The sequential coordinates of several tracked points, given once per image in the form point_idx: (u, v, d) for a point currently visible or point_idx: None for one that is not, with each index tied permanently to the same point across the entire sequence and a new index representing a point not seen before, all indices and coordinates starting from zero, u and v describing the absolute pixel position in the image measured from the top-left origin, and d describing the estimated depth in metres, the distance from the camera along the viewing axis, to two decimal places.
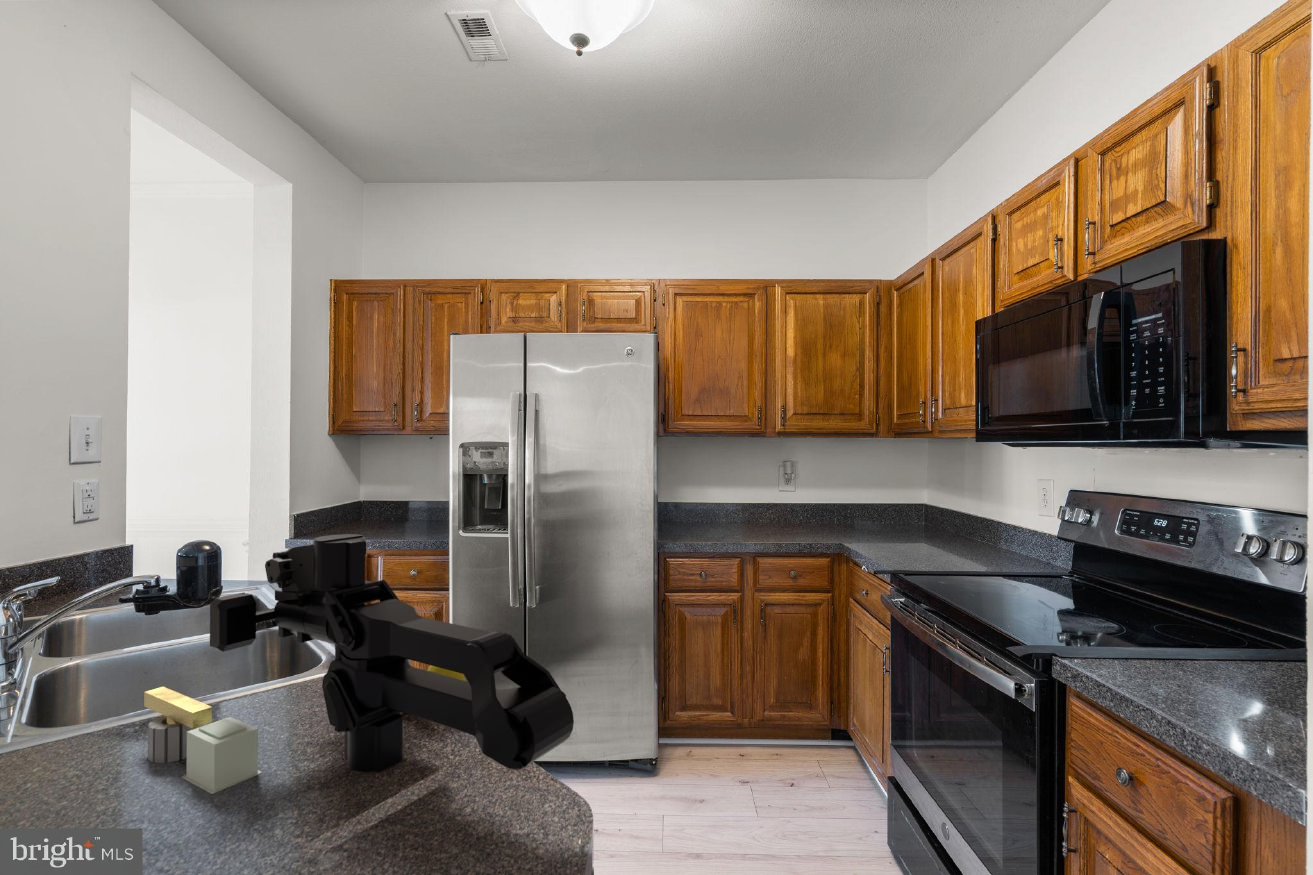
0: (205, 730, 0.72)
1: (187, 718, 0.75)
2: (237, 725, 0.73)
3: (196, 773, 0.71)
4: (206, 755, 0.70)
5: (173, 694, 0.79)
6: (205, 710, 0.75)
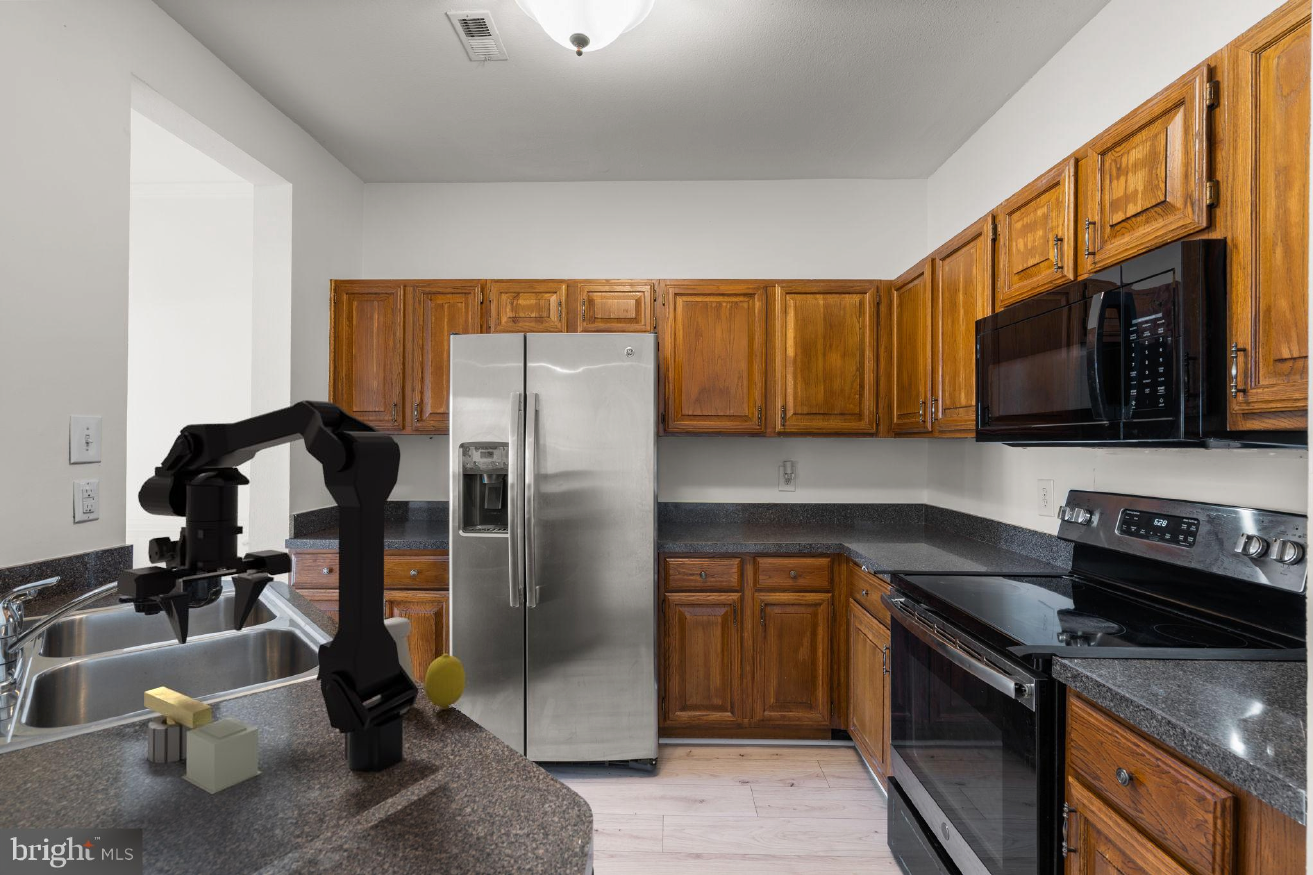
0: (205, 730, 0.72)
1: (187, 718, 0.75)
2: (237, 725, 0.73)
3: (196, 773, 0.71)
4: (206, 755, 0.70)
5: (173, 694, 0.79)
6: (205, 710, 0.75)
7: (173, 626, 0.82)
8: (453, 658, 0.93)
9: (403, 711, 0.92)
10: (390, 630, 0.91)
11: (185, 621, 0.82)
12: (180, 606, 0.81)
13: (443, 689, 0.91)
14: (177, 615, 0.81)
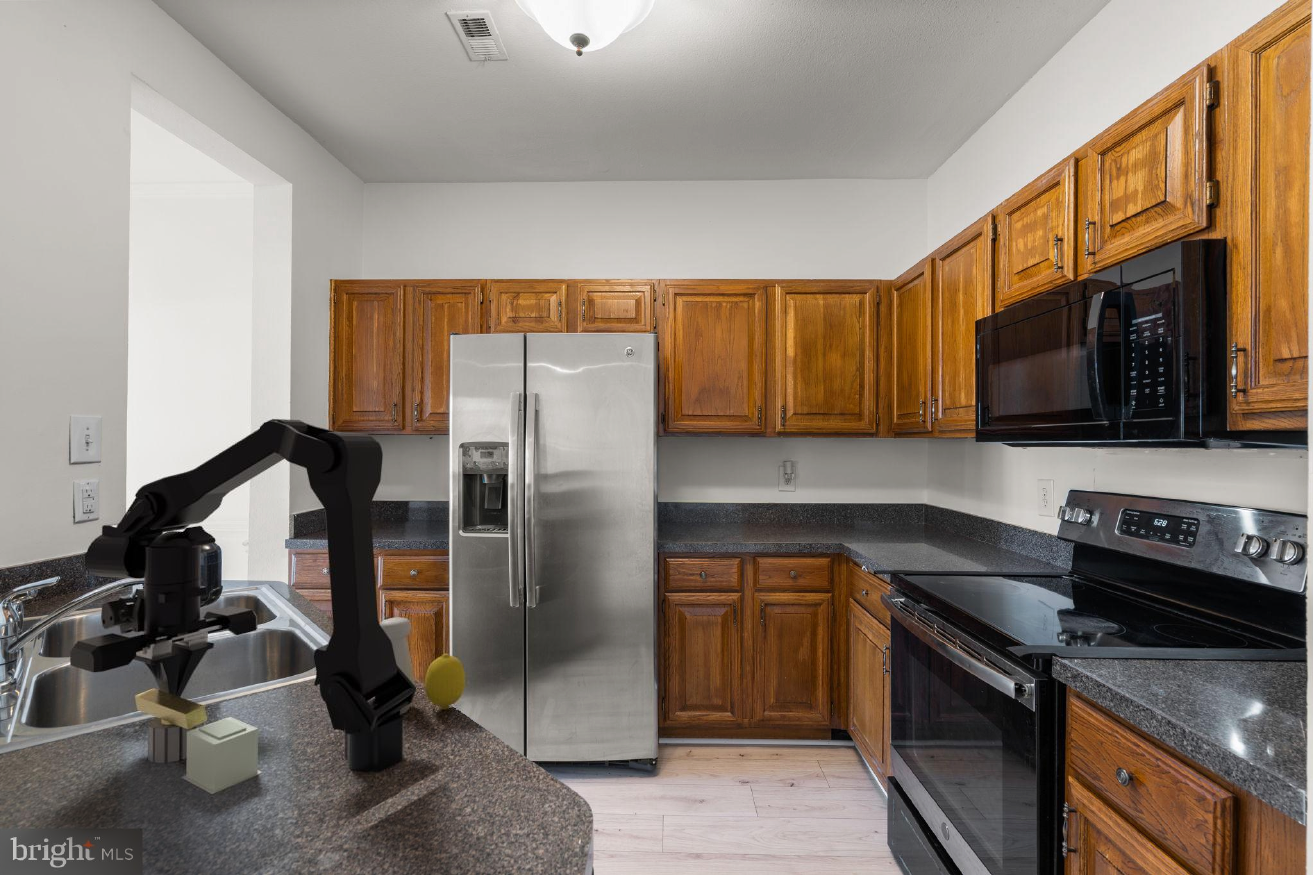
0: (205, 730, 0.72)
1: (181, 719, 0.74)
2: (237, 725, 0.73)
3: (196, 773, 0.71)
4: (206, 755, 0.70)
5: (164, 695, 0.79)
6: (198, 710, 0.75)
7: (161, 687, 0.81)
8: (453, 658, 0.93)
9: (403, 711, 0.92)
10: (390, 630, 0.91)
11: (174, 682, 0.81)
12: (170, 667, 0.80)
13: (443, 689, 0.91)
14: (166, 677, 0.80)
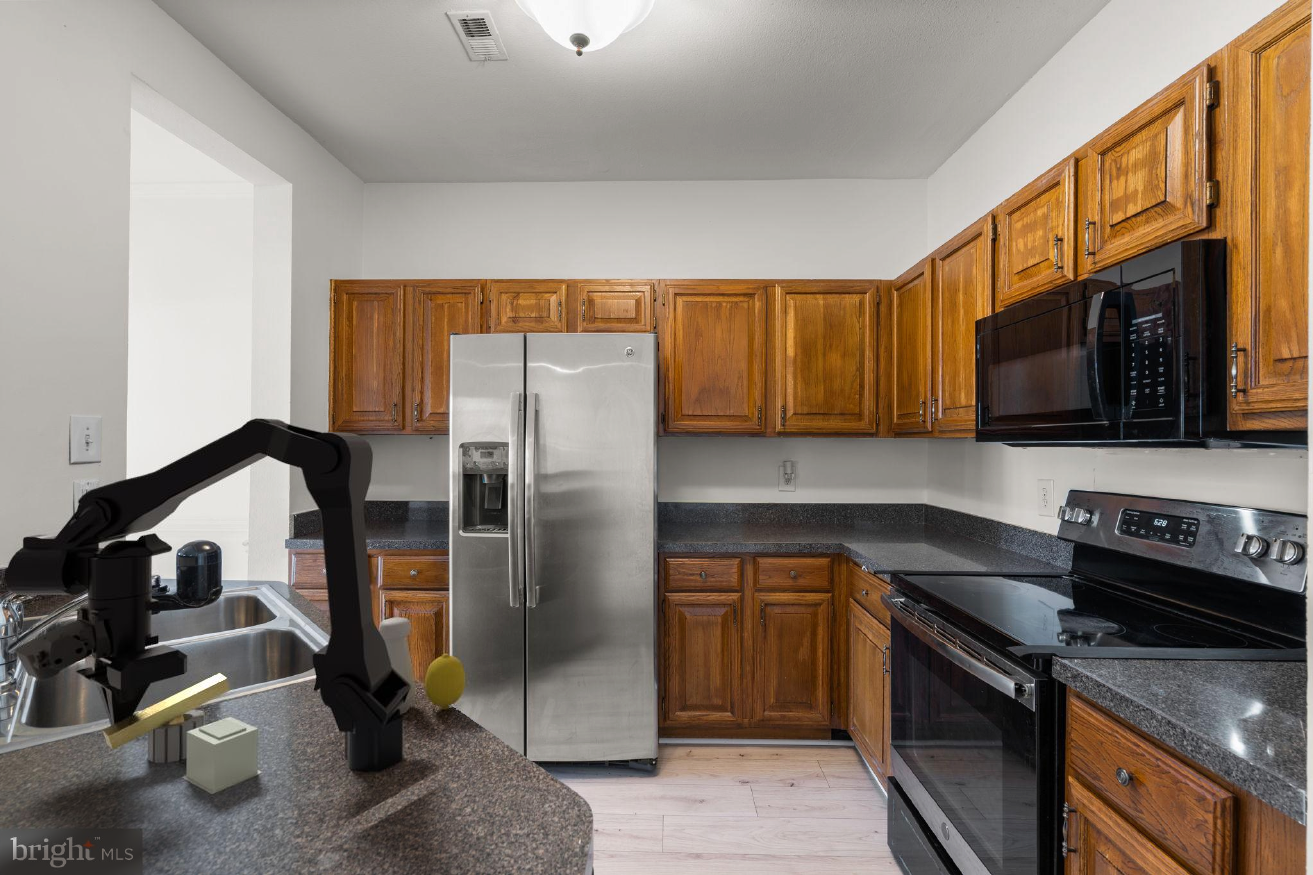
0: (205, 730, 0.72)
1: (217, 689, 0.80)
2: (237, 725, 0.73)
3: (196, 773, 0.71)
4: (206, 755, 0.70)
5: (146, 710, 0.76)
6: None
7: (119, 711, 0.74)
8: (453, 658, 0.93)
9: (403, 711, 0.92)
10: (390, 630, 0.91)
11: None
12: None
13: (443, 689, 0.91)
14: (146, 689, 0.76)
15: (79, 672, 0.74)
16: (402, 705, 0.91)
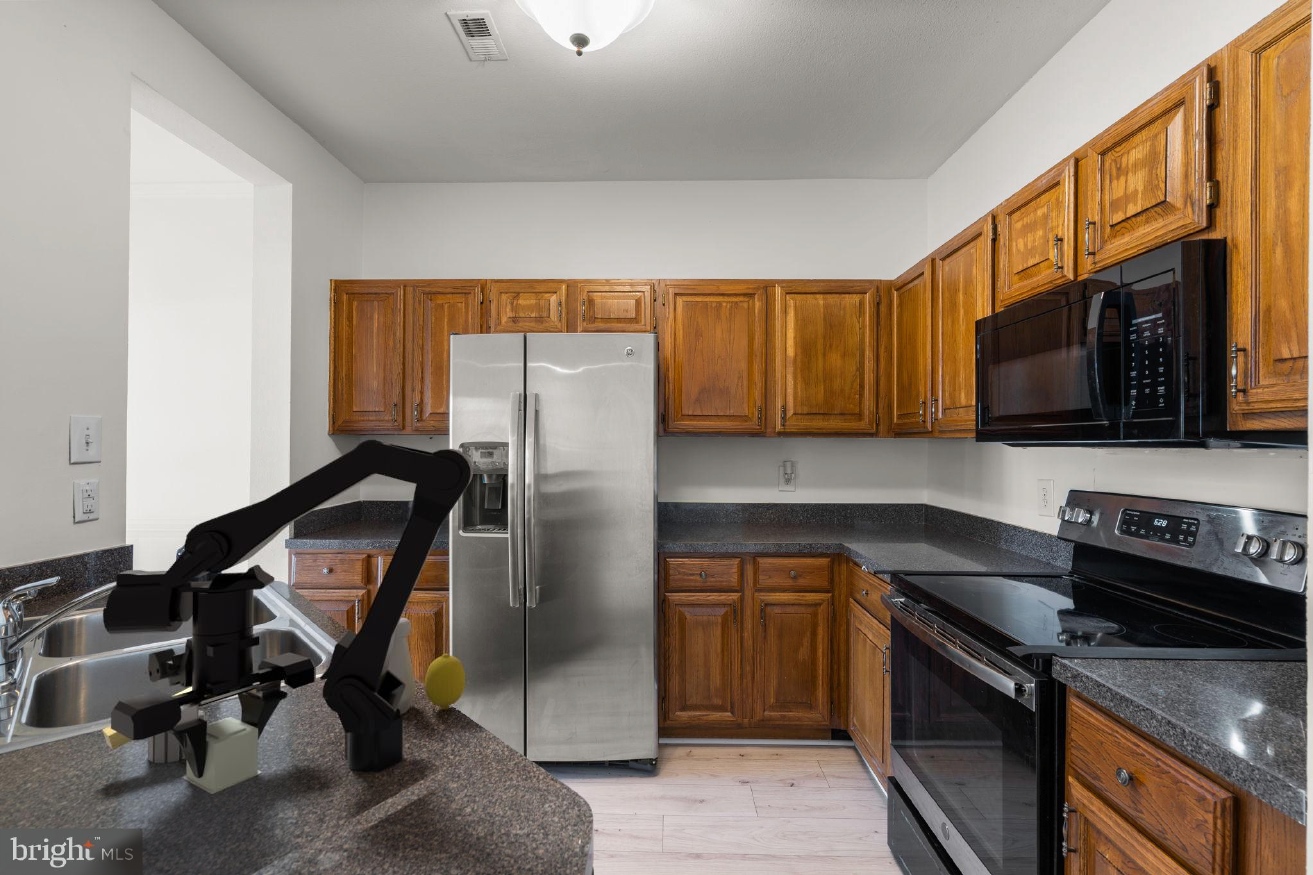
0: None
1: None
2: (237, 725, 0.73)
3: None
4: (207, 755, 0.70)
5: None
6: None
7: (187, 758, 0.70)
8: (453, 658, 0.93)
9: (403, 711, 0.92)
10: None
11: (202, 753, 0.69)
12: (196, 737, 0.68)
13: (443, 689, 0.91)
14: (192, 748, 0.68)
15: None
16: (402, 705, 0.91)
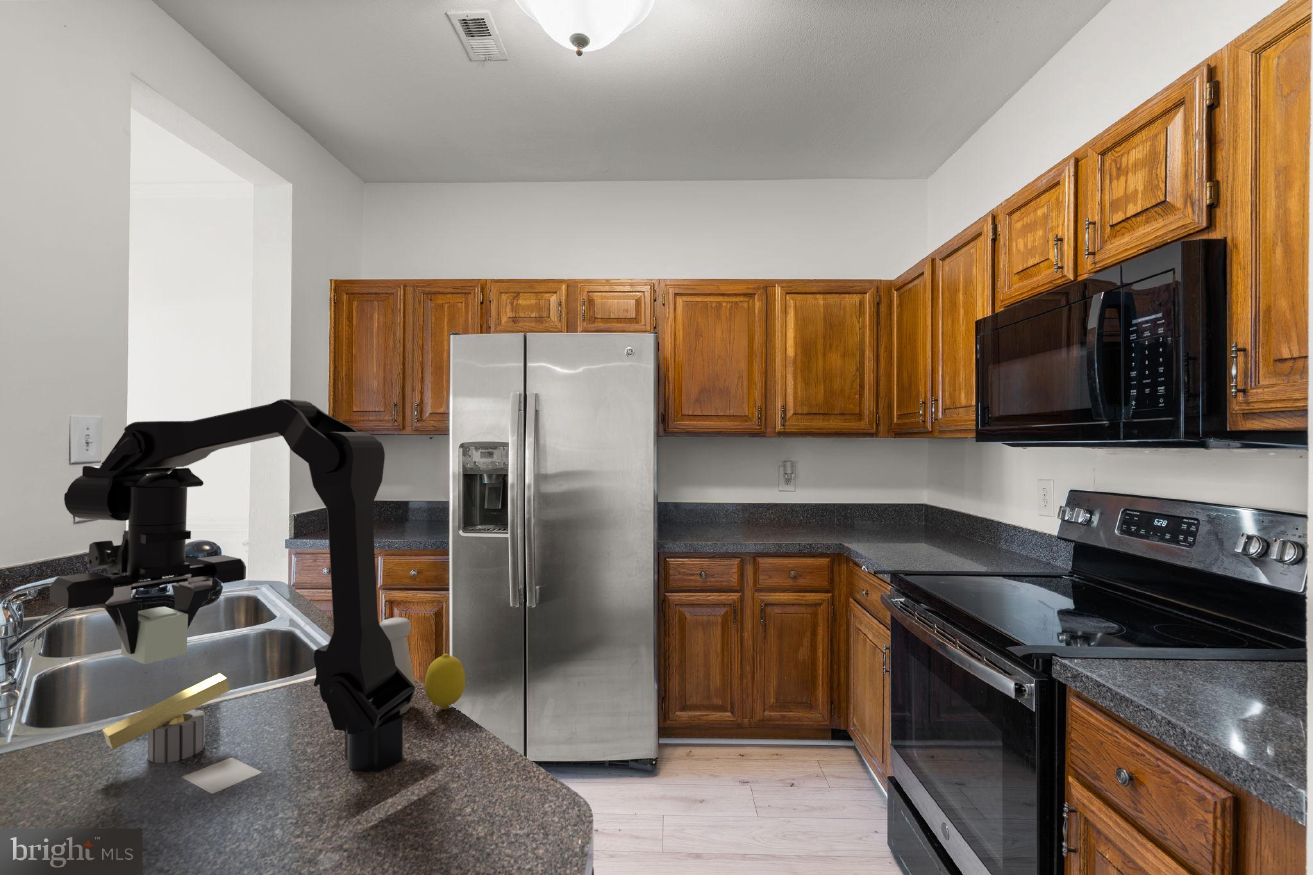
0: (139, 613, 0.80)
1: (217, 689, 0.80)
2: (169, 611, 0.81)
3: None
4: (138, 633, 0.78)
5: (146, 710, 0.76)
6: None
7: (121, 635, 0.78)
8: (453, 658, 0.93)
9: (403, 711, 0.92)
10: (390, 630, 0.91)
11: (134, 630, 0.77)
12: (128, 614, 0.76)
13: (443, 689, 0.91)
14: (125, 624, 0.76)
15: None
16: None
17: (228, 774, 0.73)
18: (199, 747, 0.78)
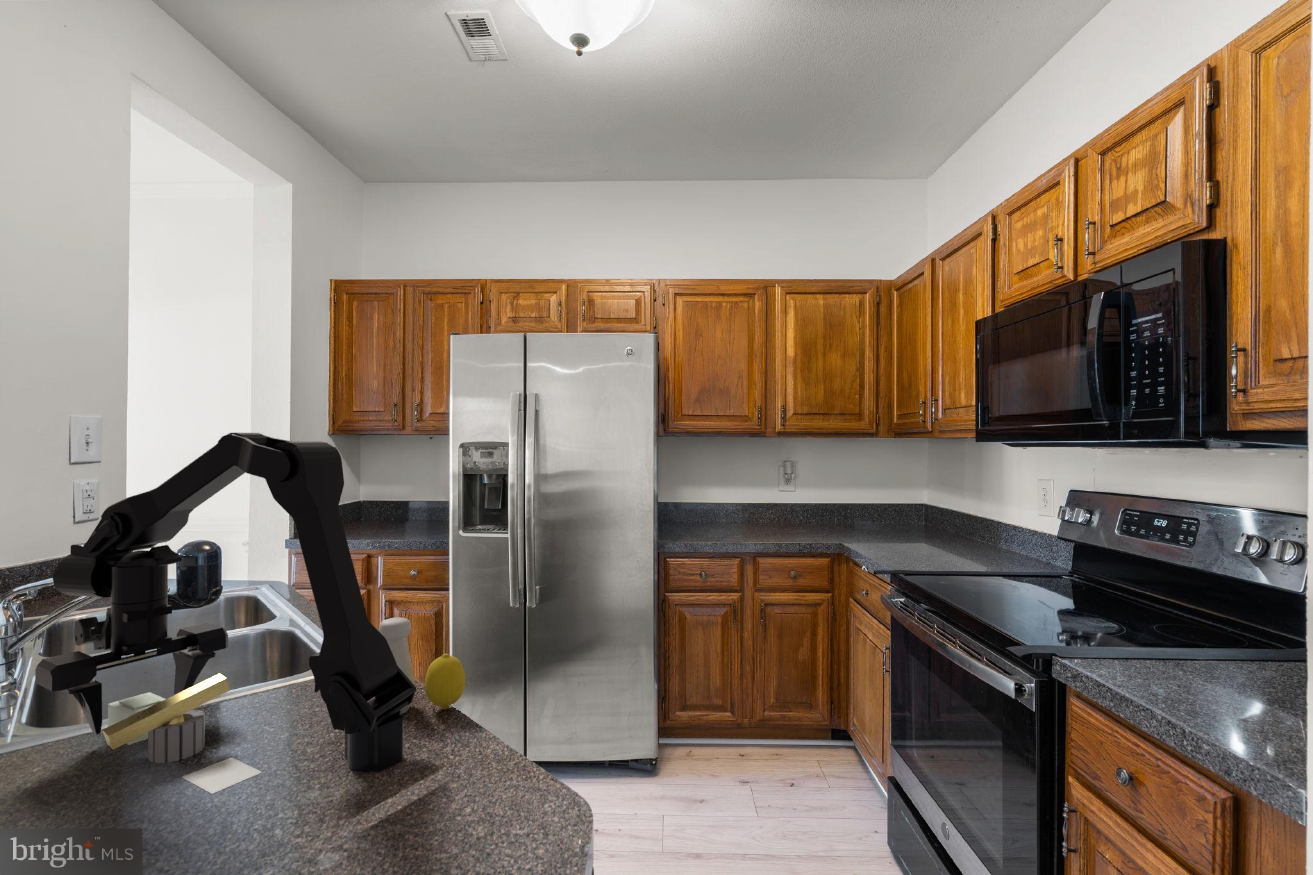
0: (124, 702, 0.82)
1: (217, 689, 0.80)
2: (153, 698, 0.84)
3: None
4: None
5: (146, 710, 0.76)
6: None
7: (86, 716, 0.79)
8: (453, 658, 0.93)
9: (403, 711, 0.92)
10: (390, 630, 0.91)
11: (98, 712, 0.78)
12: (91, 697, 0.77)
13: (443, 689, 0.91)
14: (88, 706, 0.77)
15: None
16: None
17: (228, 774, 0.73)
18: (199, 747, 0.78)
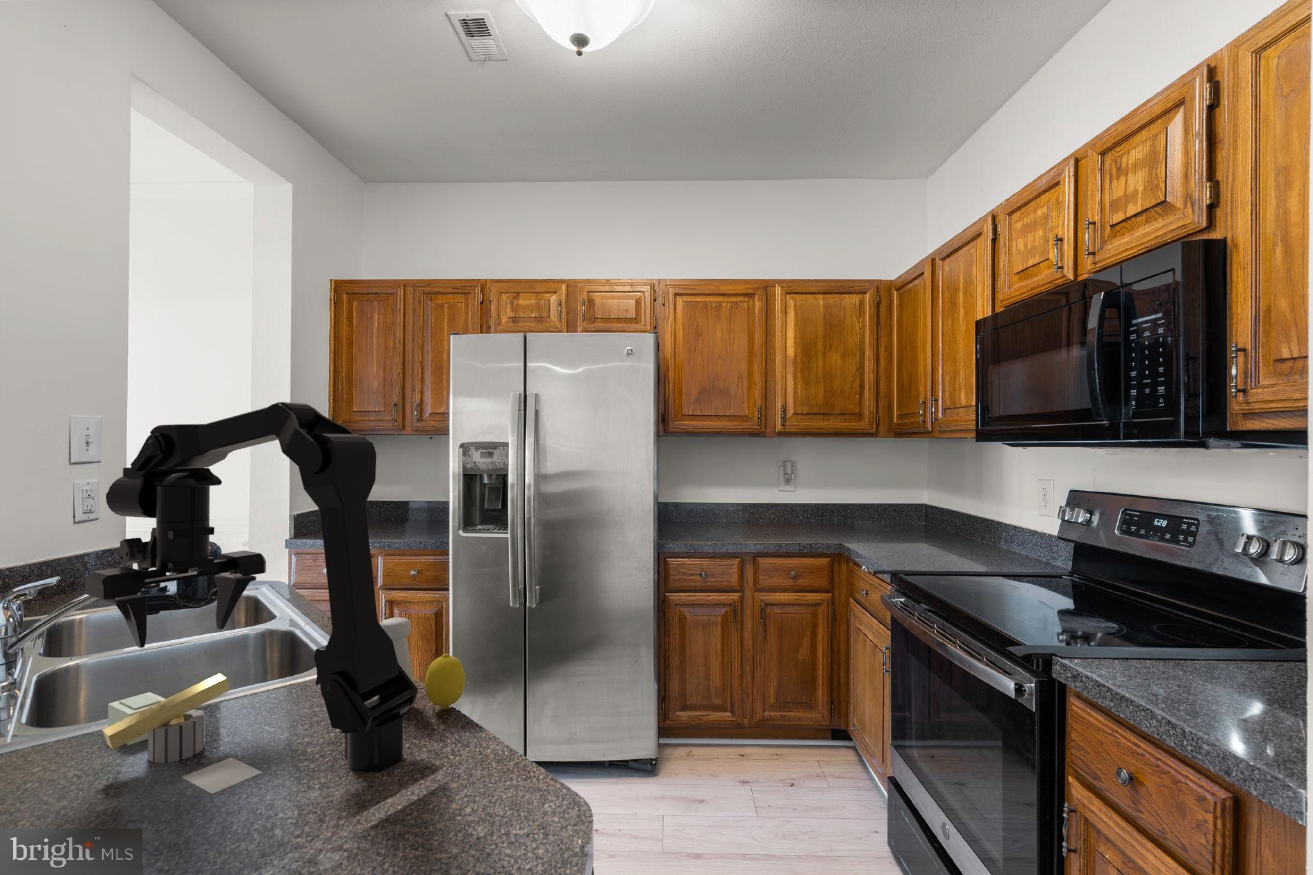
0: (124, 702, 0.82)
1: (217, 689, 0.80)
2: (153, 698, 0.84)
3: None
4: None
5: (146, 710, 0.76)
6: None
7: (131, 630, 0.81)
8: (453, 658, 0.93)
9: (403, 711, 0.92)
10: (390, 630, 0.91)
11: (143, 624, 0.80)
12: (137, 609, 0.79)
13: (443, 689, 0.91)
14: (134, 618, 0.79)
15: None
16: None
17: (228, 774, 0.73)
18: (199, 747, 0.78)
